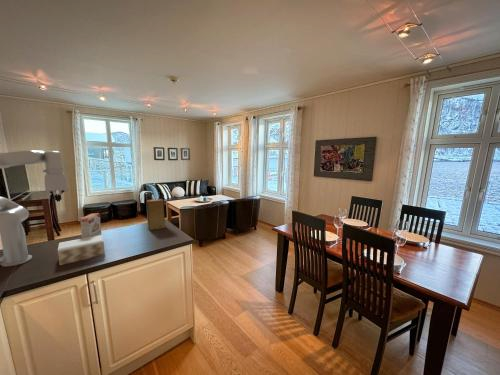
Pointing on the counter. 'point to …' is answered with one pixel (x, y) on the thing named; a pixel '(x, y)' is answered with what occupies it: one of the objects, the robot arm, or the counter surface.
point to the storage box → (81, 253)
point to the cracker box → (90, 225)
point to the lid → (80, 243)
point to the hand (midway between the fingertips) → (58, 201)
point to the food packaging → (155, 214)
